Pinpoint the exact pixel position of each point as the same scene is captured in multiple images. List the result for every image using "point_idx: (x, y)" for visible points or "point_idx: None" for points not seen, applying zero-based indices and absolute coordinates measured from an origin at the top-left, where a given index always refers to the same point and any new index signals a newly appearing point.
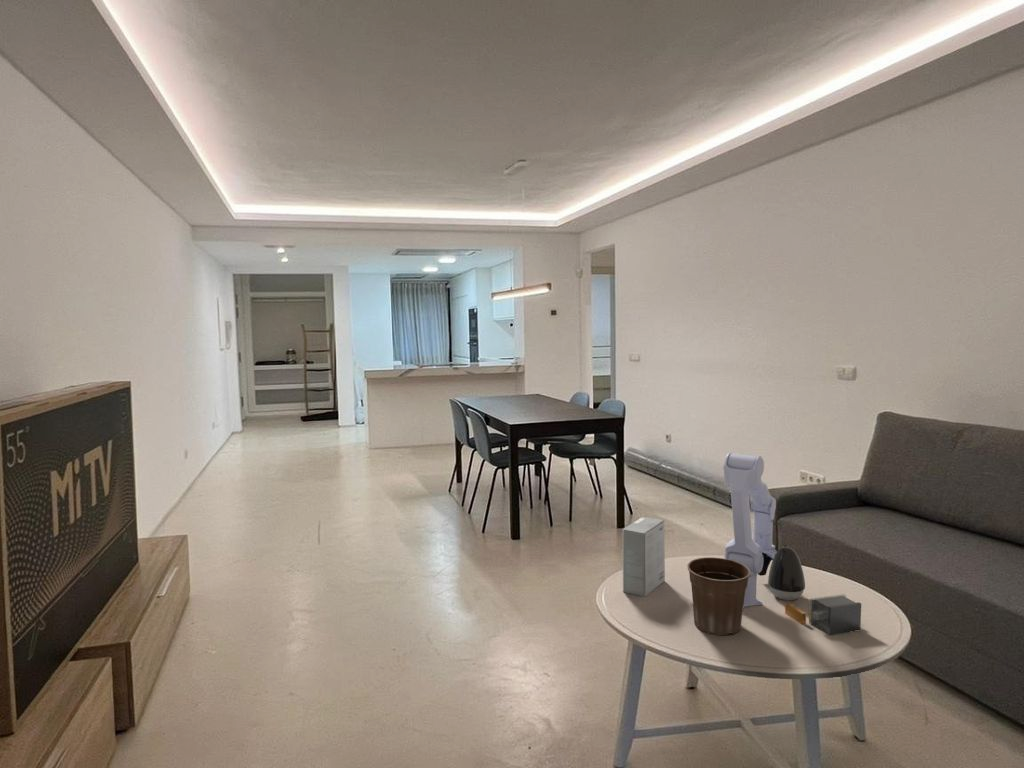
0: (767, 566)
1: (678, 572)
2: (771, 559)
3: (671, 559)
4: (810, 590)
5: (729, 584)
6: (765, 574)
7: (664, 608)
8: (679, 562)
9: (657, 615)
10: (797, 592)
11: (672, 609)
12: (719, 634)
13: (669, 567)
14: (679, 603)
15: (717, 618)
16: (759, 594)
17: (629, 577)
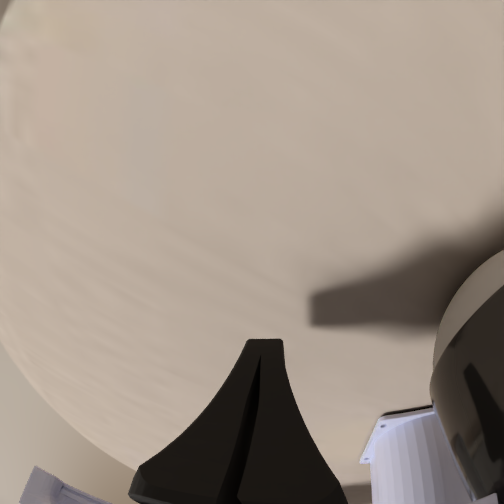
0: (291, 400)
1: (153, 452)
2: (325, 465)
3: (62, 415)
4: (492, 83)
5: None
6: (281, 344)
7: (352, 497)
8: (76, 417)
9: (370, 500)
10: None
11: (363, 494)
12: None
13: (120, 446)
14: (345, 490)
15: None
16: (407, 383)
17: None
